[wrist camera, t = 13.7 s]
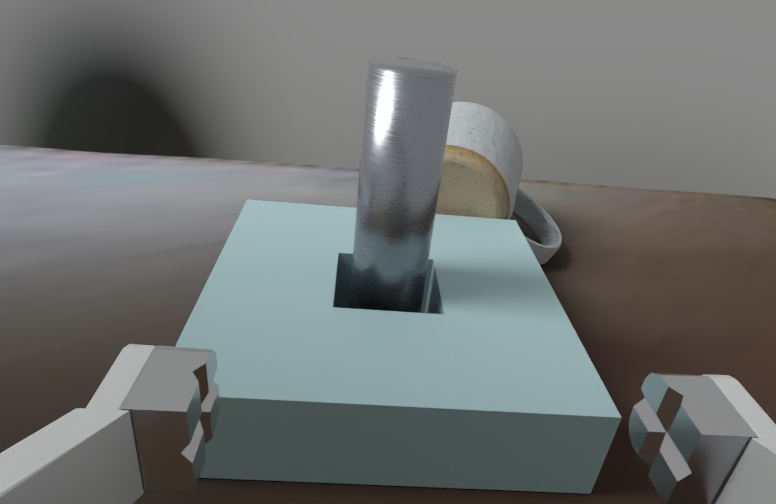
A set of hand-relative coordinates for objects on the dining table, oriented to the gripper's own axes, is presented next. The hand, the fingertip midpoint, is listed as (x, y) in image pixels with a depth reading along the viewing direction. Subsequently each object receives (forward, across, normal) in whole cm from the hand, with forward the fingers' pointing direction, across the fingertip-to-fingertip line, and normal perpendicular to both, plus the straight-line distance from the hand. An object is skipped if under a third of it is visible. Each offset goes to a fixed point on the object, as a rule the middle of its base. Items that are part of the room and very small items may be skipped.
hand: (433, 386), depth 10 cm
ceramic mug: (+23, -6, +8) cm, 25 cm away
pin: (+11, 0, +8) cm, 14 cm away
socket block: (+11, 0, +8) cm, 14 cm away
